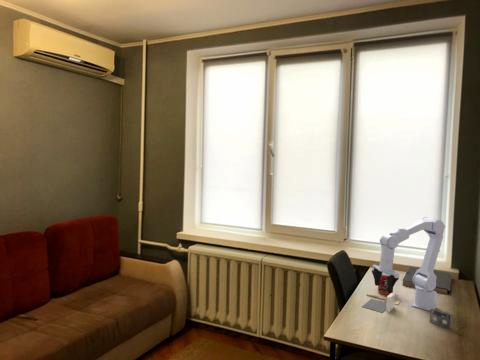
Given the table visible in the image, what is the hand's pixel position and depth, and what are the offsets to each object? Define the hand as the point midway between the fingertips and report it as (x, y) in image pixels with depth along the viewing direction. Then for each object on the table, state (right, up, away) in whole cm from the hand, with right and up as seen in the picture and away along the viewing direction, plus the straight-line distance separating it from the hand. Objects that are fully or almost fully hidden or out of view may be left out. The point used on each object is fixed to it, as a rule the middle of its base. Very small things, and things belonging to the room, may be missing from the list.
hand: (383, 288), depth 177 cm
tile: (+4, -11, +2) cm, 12 cm away
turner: (+6, -10, +14) cm, 19 cm away
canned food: (+10, -10, +24) cm, 28 cm away
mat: (-1, -11, +6) cm, 12 cm away
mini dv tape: (+20, -13, -13) cm, 27 cm away
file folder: (+44, -10, +45) cm, 64 cm away
